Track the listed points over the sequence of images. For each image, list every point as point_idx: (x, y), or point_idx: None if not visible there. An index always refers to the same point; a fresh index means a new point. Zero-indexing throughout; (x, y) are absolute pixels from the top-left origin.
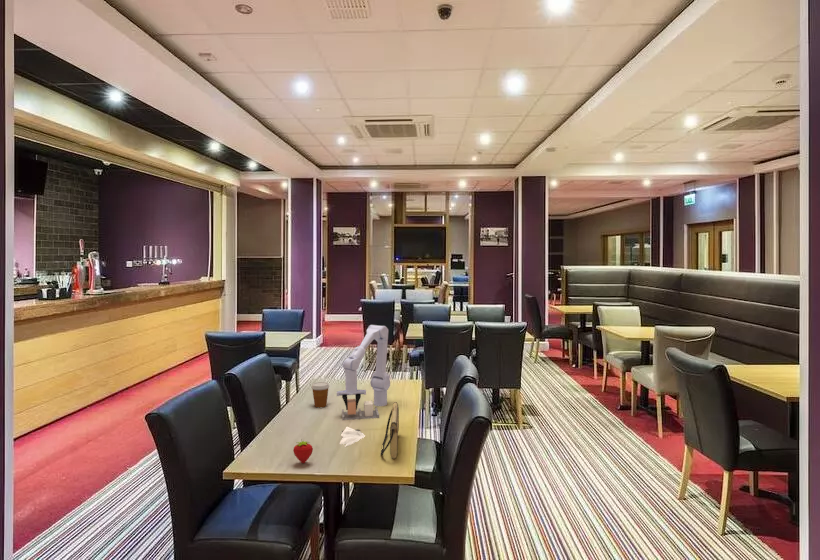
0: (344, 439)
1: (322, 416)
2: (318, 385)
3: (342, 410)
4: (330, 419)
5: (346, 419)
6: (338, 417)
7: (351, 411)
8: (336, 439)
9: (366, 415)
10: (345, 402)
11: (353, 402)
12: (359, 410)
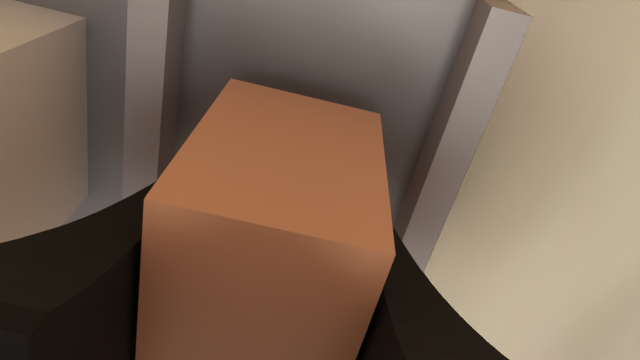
0: None
1: (632, 331)
2: None
3: None
4: (604, 197)
5: (432, 9)
6: (467, 224)
7: (307, 119)
8: None
9: (48, 13)
10: (434, 309)
11: (217, 211)
12: None
